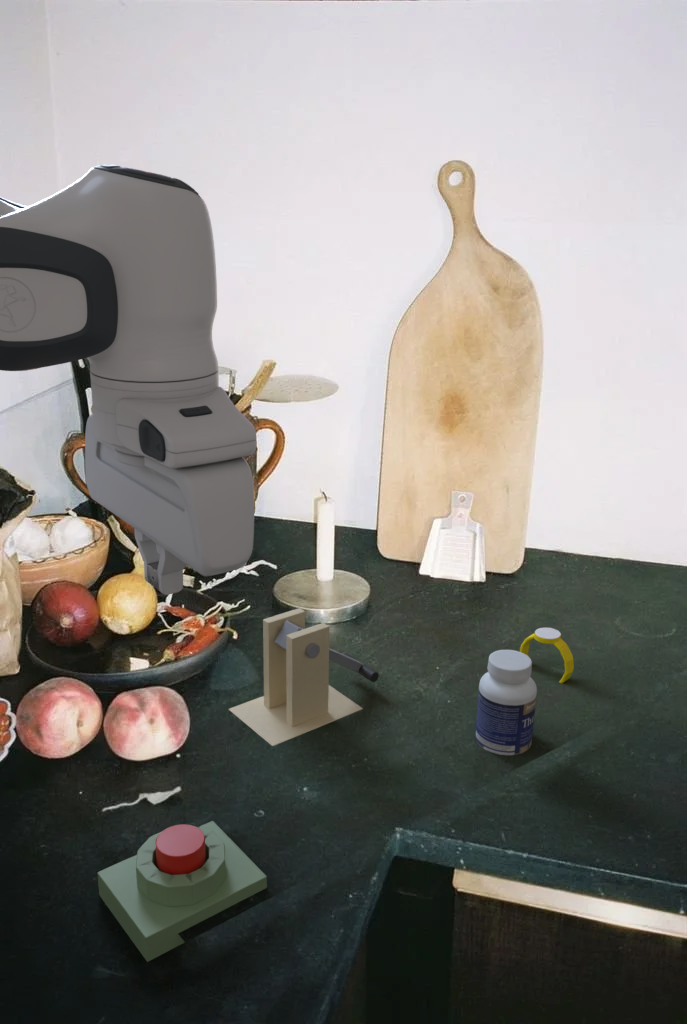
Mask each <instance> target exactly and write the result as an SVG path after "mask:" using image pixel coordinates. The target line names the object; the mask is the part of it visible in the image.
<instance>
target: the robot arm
mask: <svg viewBox="0 0 687 1024" xmlns="http://www.w3.org/2000/svg"><path fill="white" fill-rule="evenodd" d="M211 221H212V220H211V217H210V212H209V209H208V206H207V204H206V202H205V200H204V199H203V198H202V197H201V196H200V195H199V192H197V191H196V189H194V187H192V186H190V184H188V183H187V182H185V181H183V180H181V179H179V178H177V177H171V176H168V175H164V174H159V173H155V172H151V171H146V170H142V169H137V168H133V167H126V166H120V165H118V164H100V165H94V166H93V167H90V169H89V170H88V171H87V172H86V173H85V174H84V175H83V176H81V177H80V178H78V179H77V180H75V181H74V182H72V183H71V184H69V185H68V186H66V187H65V188H63V189H61V190H60V191H58V192H55V193H54V194H52V195H50V196H48V197H46V198H43V199H42V200H40V201H37V202H35V203H33V204H31V205H26V204H22V203H18V202H15V201H12V200H9V199H7V198H4V197H1V196H0V371H3V372H27V371H33V370H38V369H41V368H47V367H52V366H58V365H63V364H64V365H65V364H68V363H73V362H76V361H77V362H78V361H80V360H84V359H87V361H88V363H89V376H90V377H89V378H90V389H91V405H92V414H90V415H89V416H88V417H87V420H86V425H85V435H84V464H85V465H84V466H85V467H84V469H85V471H84V473H85V483H86V488H87V491H88V493H89V497H90V498H91V499H92V500H93V501H95V503H97V504H99V505H101V506H102V507H103V508H105V509H106V510H108V511H109V512H111V513H112V514H113V515H115V516H116V517H118V518H119V519H121V520H122V521H123V522H125V523H126V524H128V525H129V526H131V527H132V528H133V530H134V532H133V533H134V539H135V542H136V545H137V548H138V551H139V553H140V555H141V559H142V562H143V574H144V580H145V581H146V582H147V583H148V584H150V585H151V586H152V587H154V588H155V589H156V590H157V591H159V592H160V593H161V594H162V595H165V596H168V595H172V594H176V593H179V592H181V591H182V590H183V588H184V569H185V567H186V565H187V566H188V567H189V568H191V569H193V571H196V572H197V573H198V574H200V575H201V576H203V577H211V576H215V575H221V574H225V573H229V572H231V571H236V570H240V569H242V568H244V567H245V566H246V565H247V563H248V562H249V561H250V560H249V559H251V556H252V554H253V549H254V540H255V539H254V537H255V486H254V477H253V473H252V470H251V466H250V465H249V463H248V461H247V460H246V459H245V458H244V457H248V456H252V455H254V454H255V453H256V450H257V431H256V428H255V426H254V425H253V423H252V422H251V421H250V420H249V419H248V418H247V417H246V416H245V415H244V414H243V413H242V412H241V411H240V410H239V409H238V408H237V406H236V405H235V404H234V403H233V401H232V400H231V398H230V397H229V395H228V394H227V392H226V390H225V389H224V388H223V387H222V386H219V361H218V357H217V354H216V351H215V347H214V343H213V327H214V321H215V318H216V314H217V310H218V283H217V282H218V281H217V279H218V278H217V262H216V250H215V240H214V233H213V225H212V222H211Z"/></svg>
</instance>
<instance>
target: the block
mask: <svg viewBox="0 0 687 1024" xmlns="http://www.w3.org/2000/svg"><path fill="white" fill-rule="evenodd" d="M194 826H195V827H197V828H199V829H200V830H201V831H202V832H203V834H204V836H205V854H206V857H205V861H204V863H203V865H202V866H201V867H200V868H199V869H198V870H196V871H193V872H191V873H189V874H181V875H170V874H167V873H164V872H163V871H161V870H160V869H159V867H158V865H157V859H156V839H157V837H158V835H159V834H160V833H161V832H162V831H160V832H157V833H155V834H153V835H151V836H149V837H148V838H147V839H146V840H145V842H144V843H143V844H142V845H141V846H140V847H139V848H138V850H137V852H136V854H135V855H132V856H131V857H128V858H126V859H124V860H122V861H120V862H117V863H115V864H113V865H110V866H109V867H106V868H104V869H102V870H100V871H98V872H97V873H96V874H97V885H98V893H99V894H98V895H99V897H100V898H101V900H102V901H103V903H104V904H105V905H106V907H107V908H108V909H109V911H110V912H111V914H112V915H113V917H114V918H115V919H116V921H117V922H118V923H119V925H120V926H121V928H122V929H123V931H124V932H125V933H126V934H127V936H128V937H129V939H130V940H131V941H132V943H133V944H134V946H135V947H136V949H137V950H138V951H139V952H140V954H141V955H142V957H143V958H144V960H145V961H146V963H148V962H151V961H152V960H154V959H156V958H158V957H160V956H161V955H163V954H165V953H168V952H169V951H171V950H173V949H175V948H177V947H179V946H181V945H182V944H184V943H186V941H185V940H184V939H183V938H182V935H180V933H182V932H184V931H187V930H188V929H190V928H192V927H194V926H196V925H198V924H200V923H201V922H203V921H205V920H208V919H209V918H211V917H213V916H215V915H217V914H219V913H221V912H223V911H225V910H226V909H229V908H231V907H232V906H235V905H237V904H239V903H241V902H243V901H244V900H246V899H248V898H250V897H251V896H254V895H255V894H257V893H260V892H261V891H263V890H266V889H267V888H268V876H267V875H266V874H265V873H264V872H263V871H262V870H261V869H260V868H259V866H258V865H256V864H255V863H254V861H253V860H252V859H250V857H249V856H248V855H247V854H246V853H245V852H244V851H243V850H242V849H241V848H240V847H239V846H238V845H237V844H236V842H234V840H233V839H231V837H229V836H228V834H226V833H225V832H224V830H223V829H221V828H220V827H219V826H218V825H217V823H216V822H215V821H214V820H210V821H209V822H207V823H204V824H201V825H200V826H196V825H194Z"/></svg>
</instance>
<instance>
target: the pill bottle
mask: <svg viewBox="0 0 687 1024" xmlns="http://www.w3.org/2000/svg"><path fill="white" fill-rule="evenodd" d="M532 667H533V661H532V659H531V657H530V656H529V657H528V656H527V655H526V654H524V653H521V652H520V651H518V650H514V649H499V650H494V651H493V652H491V653H490V654H489V656H488V661H487V671H486V672H485V673H484V674H483V675H482V676H481V678H480V680H479V683H478V692H477V693H478V695H477V706H476V707H477V708H476V719H475V733H474V738H475V741H476V743H477V744H478V745H479V747H481V748H482V749H483V750H485V751H487V752H490V753H492V754H495V755H500V756H516V755H520V754H521V755H522V754H523V753H525V752H527V751H529V749H530V748H531V746H532V743H533V742H532V741H533V733H534V725H535V715H536V704H537V695H538V688H537V684H536V682H535V680H534V679H533V677H531V676H532Z"/></svg>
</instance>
